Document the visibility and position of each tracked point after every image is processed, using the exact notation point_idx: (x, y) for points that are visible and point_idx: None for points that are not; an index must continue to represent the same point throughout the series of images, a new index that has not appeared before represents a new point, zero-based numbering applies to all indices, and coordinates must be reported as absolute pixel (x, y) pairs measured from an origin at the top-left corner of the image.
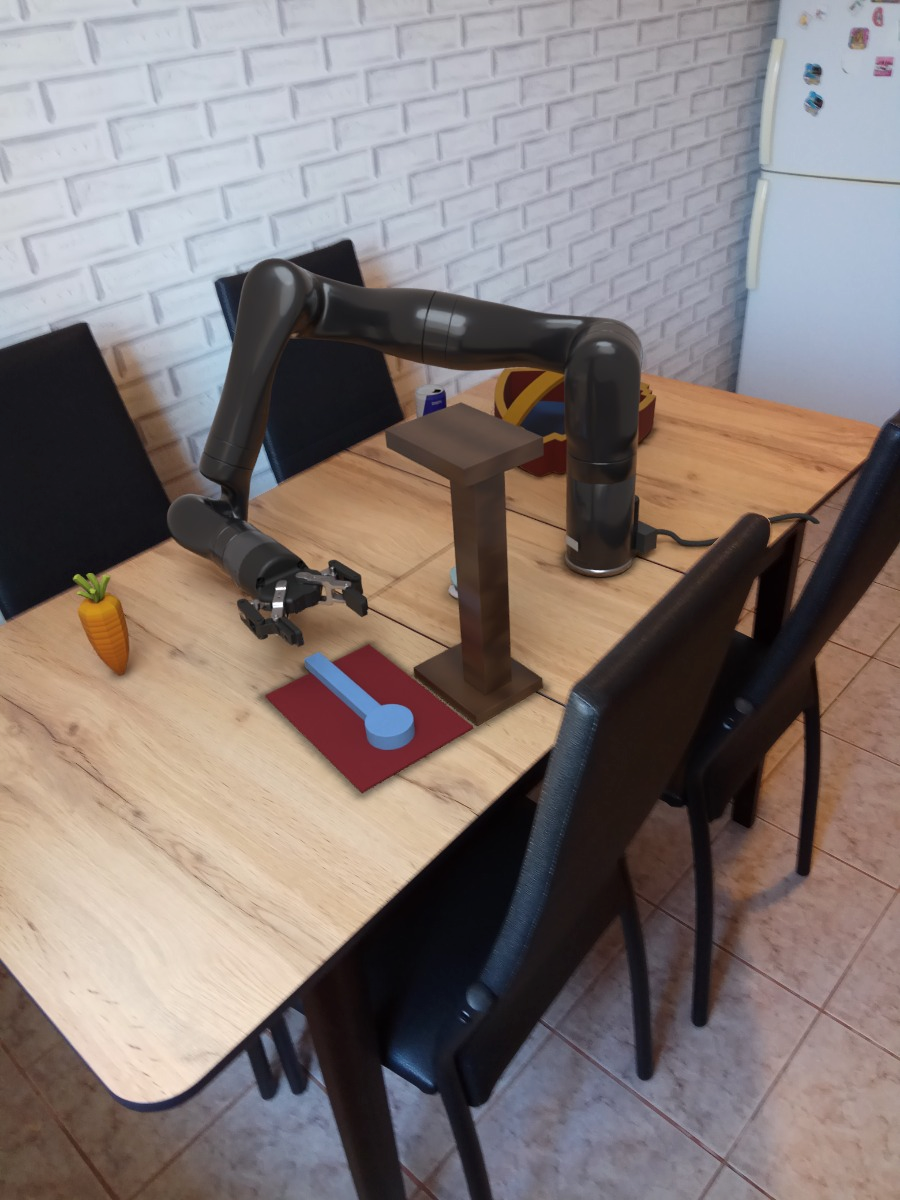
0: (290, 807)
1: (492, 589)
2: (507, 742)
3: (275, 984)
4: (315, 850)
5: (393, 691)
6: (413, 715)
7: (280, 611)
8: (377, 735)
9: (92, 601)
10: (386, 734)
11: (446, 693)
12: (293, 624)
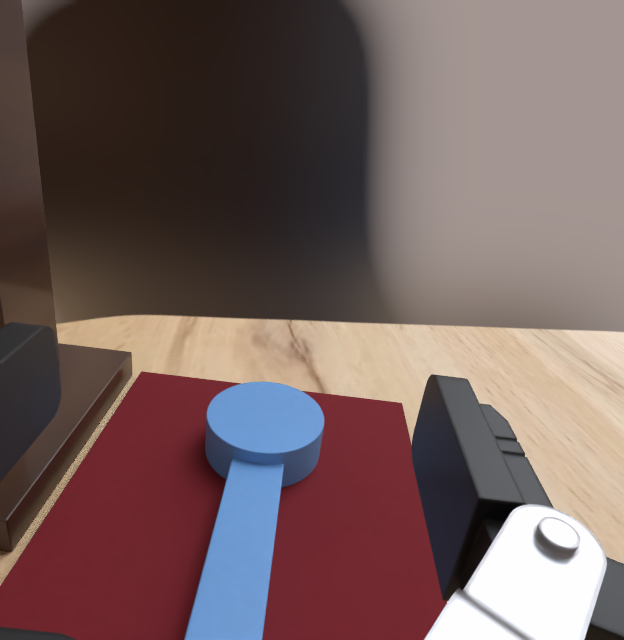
0: (535, 460)
1: None
2: (142, 339)
3: (591, 337)
4: (511, 391)
5: (124, 536)
6: (182, 448)
7: (502, 561)
8: (318, 405)
9: None
10: (302, 396)
11: (90, 409)
12: (454, 411)
